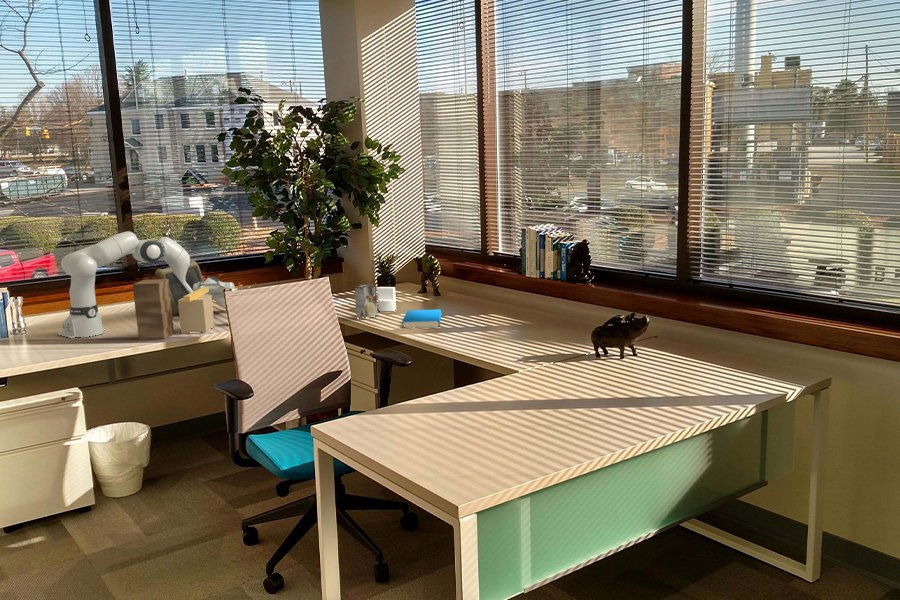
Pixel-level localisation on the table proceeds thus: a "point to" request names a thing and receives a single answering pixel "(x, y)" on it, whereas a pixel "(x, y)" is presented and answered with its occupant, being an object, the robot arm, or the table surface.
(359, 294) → the coffee box
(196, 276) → the grey open box
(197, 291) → the tan wooden beam
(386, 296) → the white recessed box
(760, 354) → the table surface
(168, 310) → the walnut post
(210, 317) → the cardboard box
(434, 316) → the book
